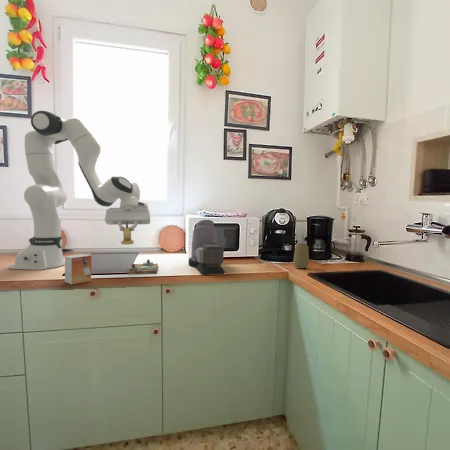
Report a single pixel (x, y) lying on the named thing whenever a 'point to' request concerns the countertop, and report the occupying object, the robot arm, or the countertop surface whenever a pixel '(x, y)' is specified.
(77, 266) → the small box
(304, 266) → the squeeze bottle
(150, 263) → the gear board
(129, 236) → the brass pinion
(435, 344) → the countertop surface
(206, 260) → the juicer
